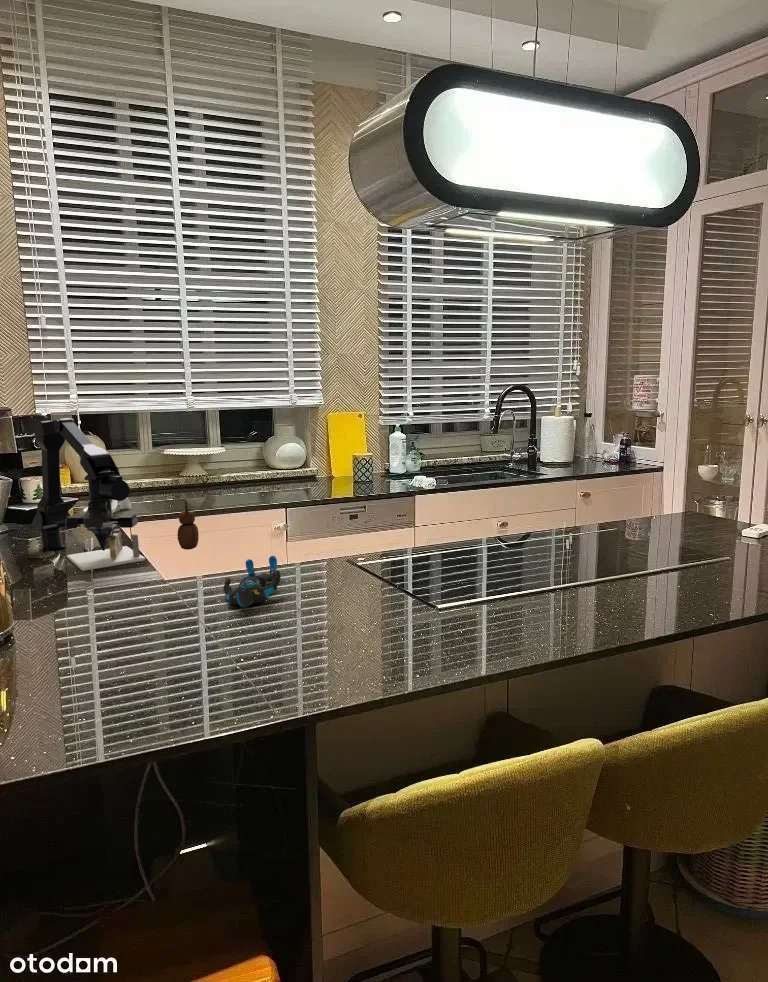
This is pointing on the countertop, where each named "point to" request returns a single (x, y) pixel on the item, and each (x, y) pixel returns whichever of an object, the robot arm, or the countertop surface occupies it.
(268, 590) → the figurine
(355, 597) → the countertop surface
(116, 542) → the gate
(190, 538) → the wooden figurine
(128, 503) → the spoon rest
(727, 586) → the countertop surface
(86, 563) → the white flat posted base
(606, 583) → the countertop surface
